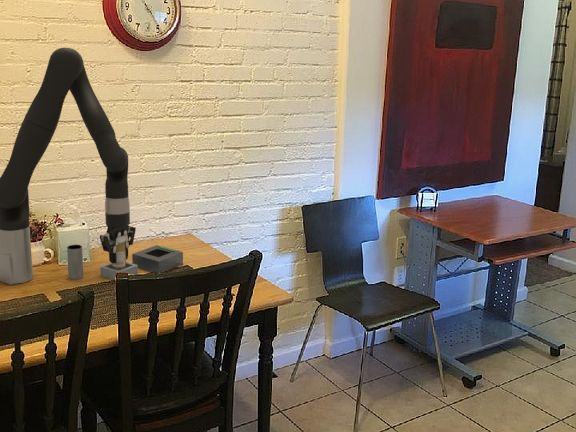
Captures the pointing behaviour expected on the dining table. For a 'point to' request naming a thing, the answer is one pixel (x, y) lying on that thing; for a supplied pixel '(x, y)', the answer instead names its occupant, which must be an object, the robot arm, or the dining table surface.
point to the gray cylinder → (75, 262)
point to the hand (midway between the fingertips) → (118, 260)
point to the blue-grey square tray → (111, 273)
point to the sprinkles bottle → (120, 254)
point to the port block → (157, 259)
